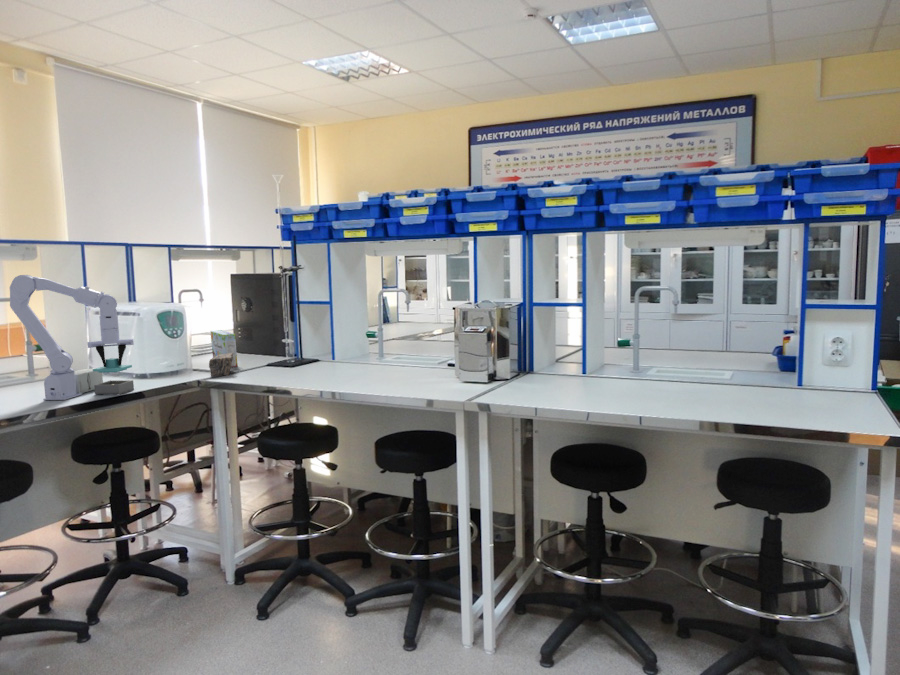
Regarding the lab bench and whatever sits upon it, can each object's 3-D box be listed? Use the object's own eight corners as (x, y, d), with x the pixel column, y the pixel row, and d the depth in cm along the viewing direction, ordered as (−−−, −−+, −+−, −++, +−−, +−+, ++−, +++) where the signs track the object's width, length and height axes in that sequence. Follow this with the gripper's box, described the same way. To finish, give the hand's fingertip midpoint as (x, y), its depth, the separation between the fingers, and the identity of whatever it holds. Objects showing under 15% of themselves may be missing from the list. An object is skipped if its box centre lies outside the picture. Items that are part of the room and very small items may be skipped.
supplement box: (104, 387, 238) (79, 394, 226) (87, 387, 240) (61, 394, 227) (102, 368, 237) (77, 374, 225) (85, 368, 239) (59, 374, 226)
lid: (117, 373, 223) (116, 360, 223) (93, 373, 224) (91, 360, 223) (132, 368, 232) (131, 356, 231) (108, 368, 233) (107, 357, 232)
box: (119, 394, 224) (118, 385, 224) (95, 394, 225) (94, 385, 224) (133, 389, 233) (133, 380, 233) (110, 389, 234) (110, 380, 233)
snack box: (211, 362, 297) (209, 330, 296) (223, 361, 301) (222, 329, 299) (225, 367, 280) (223, 334, 279) (238, 366, 284) (236, 333, 282)
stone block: (232, 376, 259) (231, 357, 258) (209, 376, 258) (208, 358, 257) (239, 370, 273) (238, 352, 272) (217, 371, 272) (216, 353, 271)
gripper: (131, 326, 233) (134, 362, 235) (86, 329, 226) (89, 366, 228) (132, 327, 227) (135, 365, 229) (86, 330, 220) (89, 369, 222)
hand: (112, 366), depth 228 cm, fingers closed on lid, 4 cm apart
